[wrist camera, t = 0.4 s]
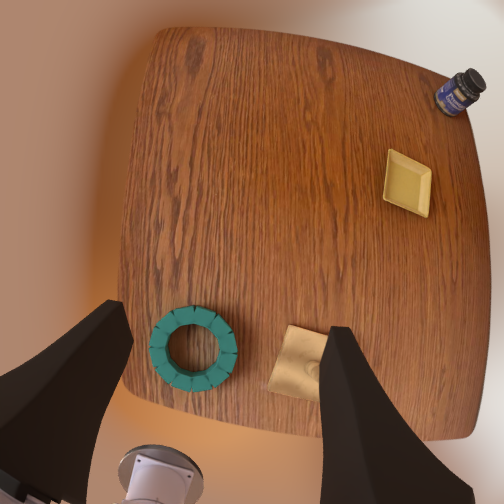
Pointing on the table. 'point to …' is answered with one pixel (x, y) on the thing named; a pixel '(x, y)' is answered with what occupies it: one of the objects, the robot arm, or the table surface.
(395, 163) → the saucer
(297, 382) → the holder
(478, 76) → the pill bottle
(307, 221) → the table surface
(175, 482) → the robot arm
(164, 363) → the ring
